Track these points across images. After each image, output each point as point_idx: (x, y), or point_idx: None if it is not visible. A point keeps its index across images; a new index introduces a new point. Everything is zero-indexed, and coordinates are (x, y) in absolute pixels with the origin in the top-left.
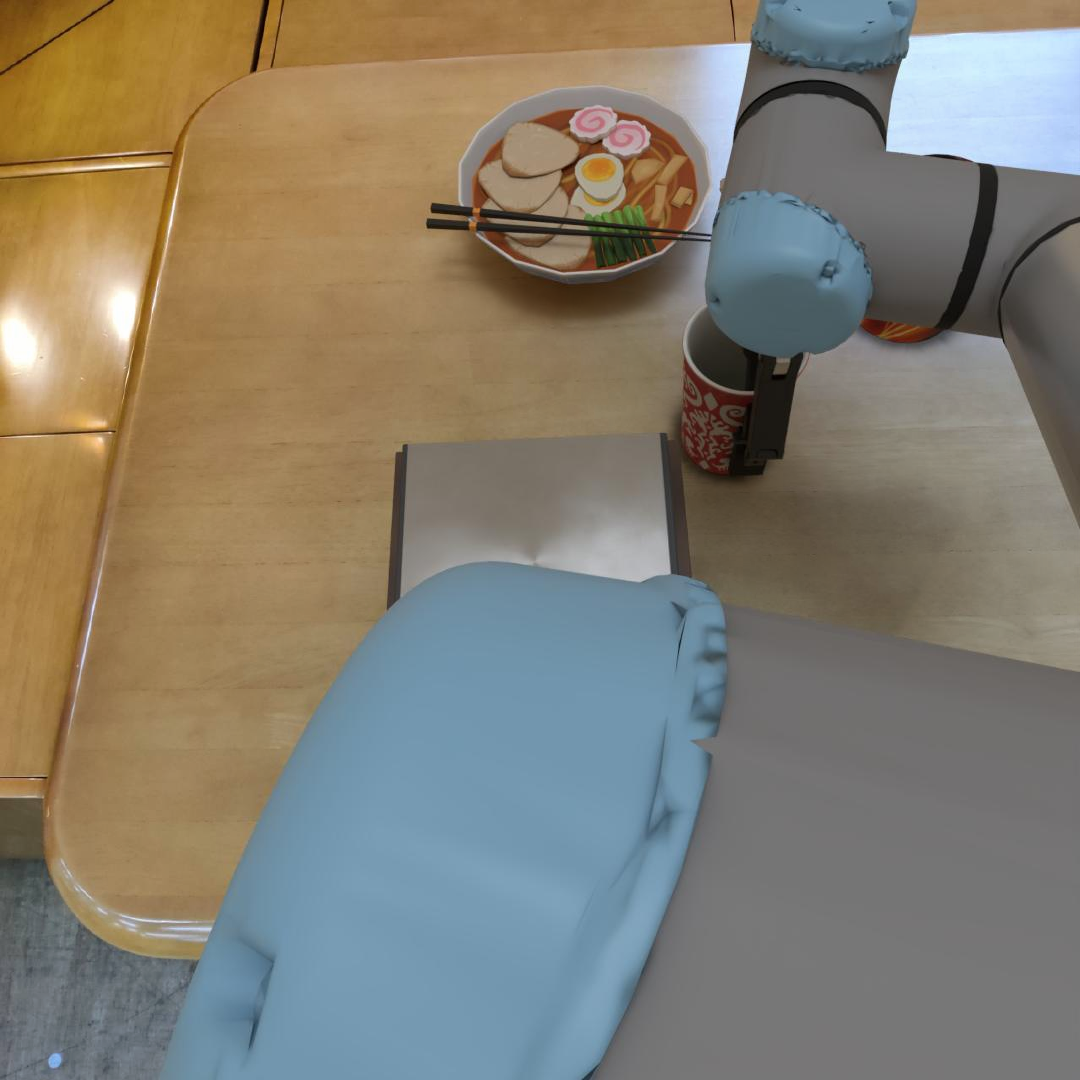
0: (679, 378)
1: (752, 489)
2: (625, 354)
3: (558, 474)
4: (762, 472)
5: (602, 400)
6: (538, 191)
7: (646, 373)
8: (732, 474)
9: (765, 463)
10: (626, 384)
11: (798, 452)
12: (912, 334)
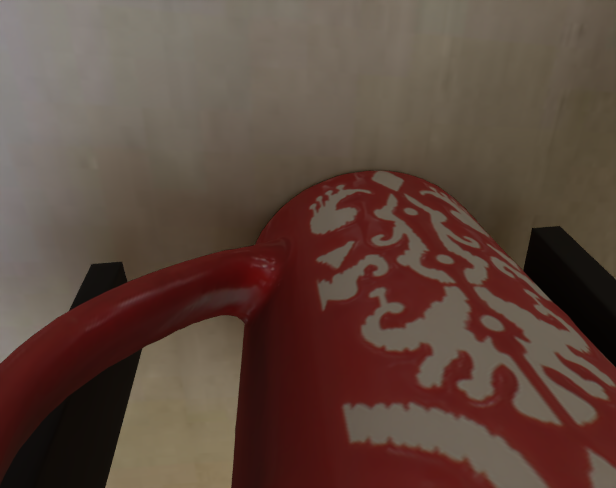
0: (181, 367)
1: (528, 208)
2: (126, 462)
3: None
4: (567, 236)
5: None
6: None
7: (175, 425)
8: None
9: (598, 266)
10: (210, 454)
11: (433, 73)
12: None
